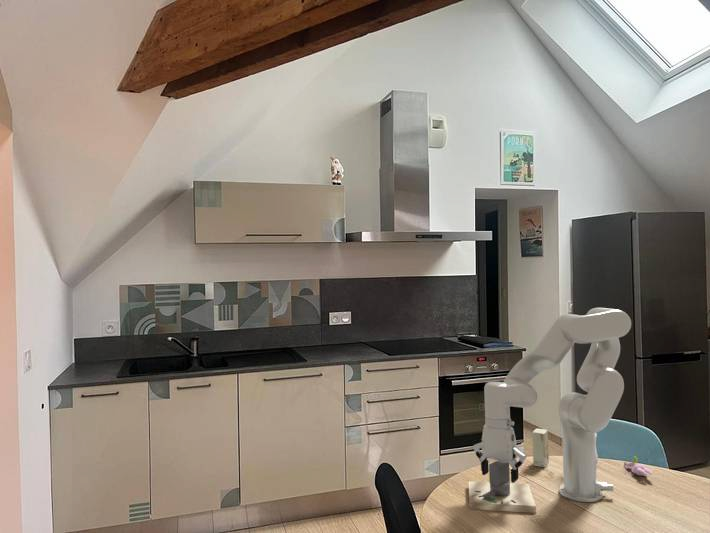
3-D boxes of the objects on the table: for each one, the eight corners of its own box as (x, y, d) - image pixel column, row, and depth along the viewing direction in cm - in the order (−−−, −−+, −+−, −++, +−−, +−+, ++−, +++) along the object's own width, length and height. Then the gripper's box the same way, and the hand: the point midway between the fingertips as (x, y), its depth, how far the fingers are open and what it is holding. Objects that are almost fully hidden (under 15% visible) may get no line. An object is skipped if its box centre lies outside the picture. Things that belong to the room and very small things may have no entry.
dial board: (528, 490, 167) (528, 483, 167) (536, 512, 152) (535, 505, 152) (468, 487, 171) (468, 480, 171) (469, 509, 155) (469, 501, 155)
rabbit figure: (619, 470, 185) (640, 480, 170) (617, 453, 186) (637, 461, 171) (637, 470, 185) (659, 480, 170) (635, 453, 186) (657, 461, 171)
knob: (497, 486, 166) (496, 457, 166) (514, 491, 161) (513, 462, 161) (476, 496, 159) (475, 467, 159) (493, 502, 154) (492, 472, 154)
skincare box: (545, 468, 186) (544, 434, 186) (533, 466, 188) (531, 432, 188) (549, 462, 191) (548, 429, 191) (537, 460, 193) (535, 427, 194)
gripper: (529, 424, 159) (531, 480, 159) (478, 415, 170) (480, 467, 170) (519, 430, 153) (521, 488, 153) (467, 420, 165) (468, 474, 164)
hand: (499, 477), depth 162 cm, fingers open, 9 cm apart
